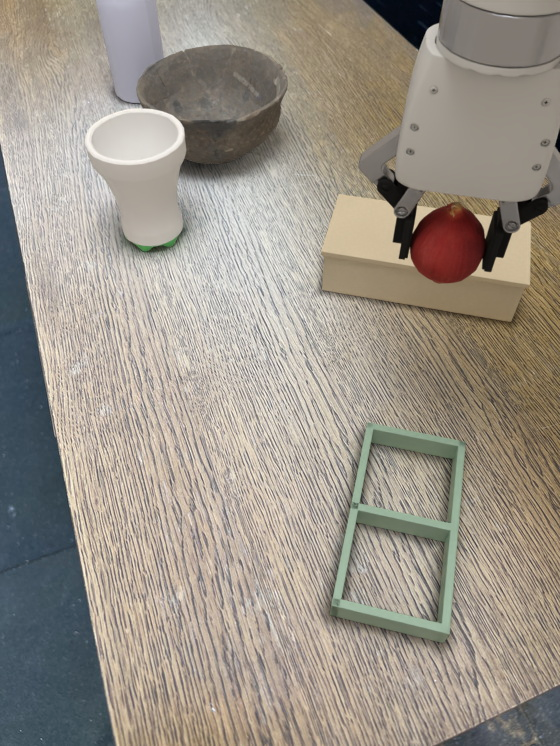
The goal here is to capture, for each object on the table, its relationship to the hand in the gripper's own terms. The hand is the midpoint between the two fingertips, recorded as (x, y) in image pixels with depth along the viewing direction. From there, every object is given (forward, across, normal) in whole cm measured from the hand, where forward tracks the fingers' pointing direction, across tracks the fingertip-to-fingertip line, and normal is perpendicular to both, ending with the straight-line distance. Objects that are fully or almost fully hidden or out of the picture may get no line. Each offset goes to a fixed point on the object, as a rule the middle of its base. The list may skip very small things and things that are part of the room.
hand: (445, 252), depth 52 cm
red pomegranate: (+3, 0, 0) cm, 3 cm away
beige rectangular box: (+20, +1, -18) cm, 27 cm away
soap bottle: (+20, +49, -52) cm, 74 cm away
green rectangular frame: (+20, -1, +15) cm, 25 cm away
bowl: (+20, +32, -40) cm, 55 cm away
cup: (+20, +35, -19) cm, 44 cm away
